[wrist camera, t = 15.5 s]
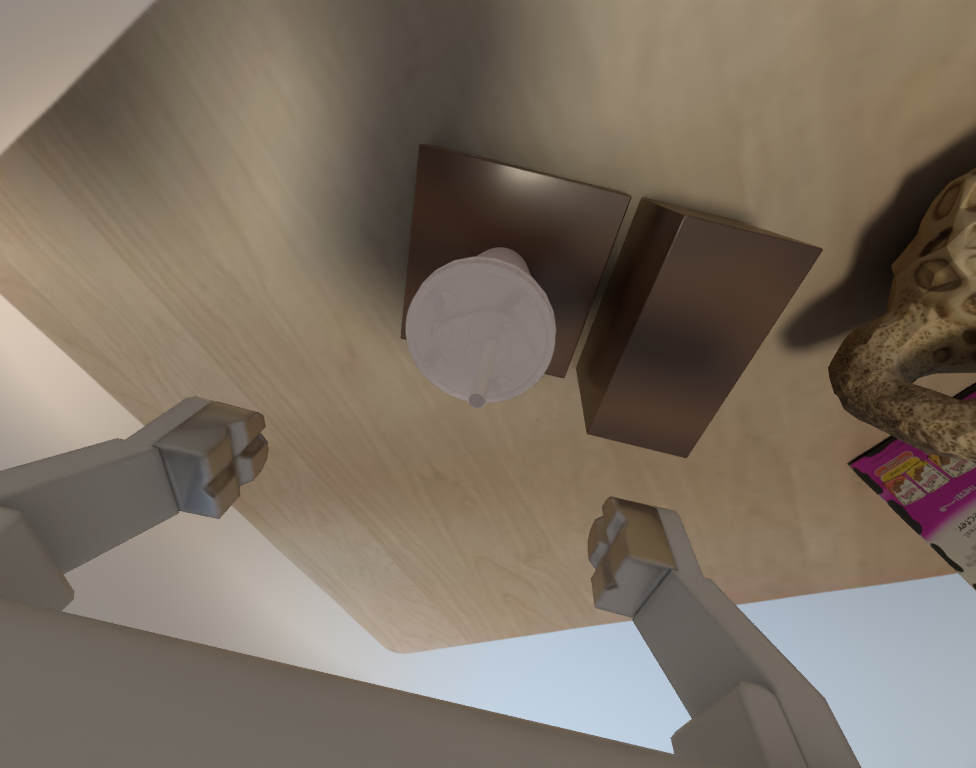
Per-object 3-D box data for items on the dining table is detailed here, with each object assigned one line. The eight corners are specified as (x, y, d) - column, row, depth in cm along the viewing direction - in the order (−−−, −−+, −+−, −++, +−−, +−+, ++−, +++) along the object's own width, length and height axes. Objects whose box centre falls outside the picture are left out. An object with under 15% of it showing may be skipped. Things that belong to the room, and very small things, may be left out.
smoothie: (537, 334, 26) (533, 488, 14) (443, 314, 26) (360, 450, 14) (563, 235, 22) (590, 326, 10) (457, 212, 22) (362, 276, 11)
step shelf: (428, 144, 23) (379, 139, 16) (739, 221, 23) (824, 249, 16) (408, 327, 29) (367, 380, 22) (652, 387, 29) (686, 458, 22)
